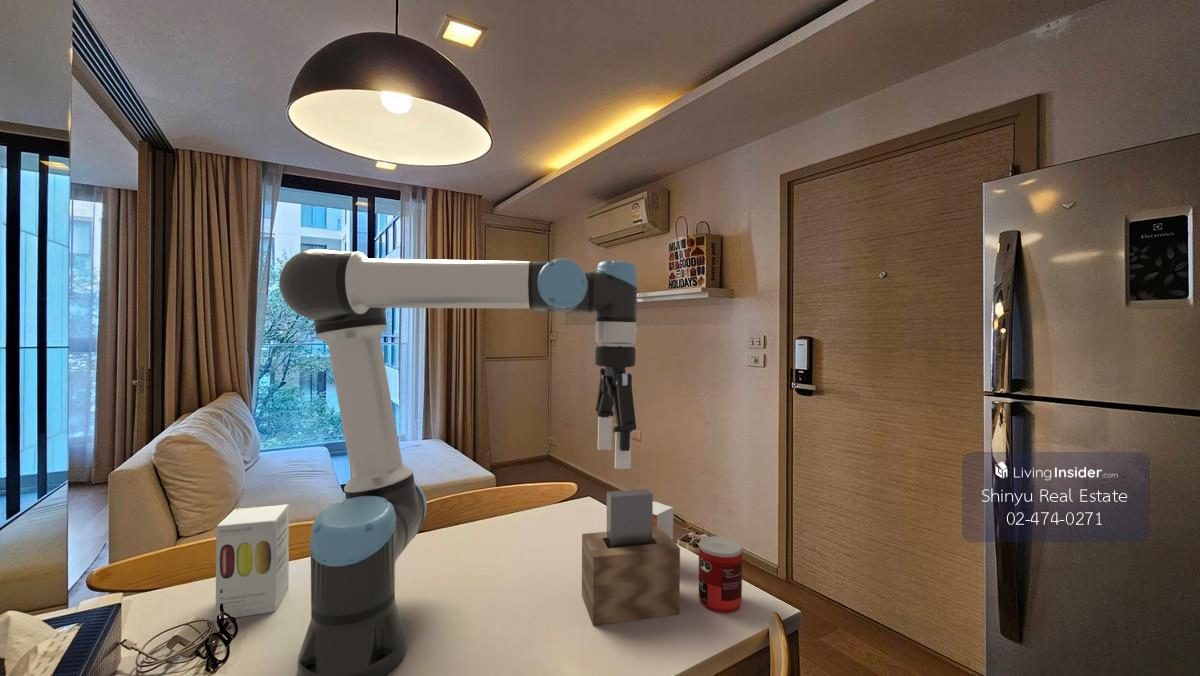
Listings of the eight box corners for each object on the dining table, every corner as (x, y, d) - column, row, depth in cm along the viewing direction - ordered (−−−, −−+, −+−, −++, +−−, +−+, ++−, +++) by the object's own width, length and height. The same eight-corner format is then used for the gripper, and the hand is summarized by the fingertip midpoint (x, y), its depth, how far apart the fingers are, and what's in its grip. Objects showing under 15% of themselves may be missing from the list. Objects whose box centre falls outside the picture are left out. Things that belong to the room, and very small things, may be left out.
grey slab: (610, 573, 90) (610, 497, 89) (606, 565, 93) (606, 491, 92) (652, 568, 92) (652, 493, 91) (646, 561, 94) (647, 488, 94)
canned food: (701, 588, 98) (702, 533, 98) (743, 596, 95) (744, 539, 95) (694, 608, 91) (695, 549, 91) (739, 617, 88) (740, 556, 88)
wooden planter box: (593, 625, 85) (593, 557, 85) (581, 595, 95) (582, 533, 95) (679, 614, 89) (679, 548, 89) (660, 586, 99) (660, 526, 99)
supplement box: (213, 622, 86) (212, 526, 86) (232, 595, 95) (232, 508, 94) (277, 612, 89) (277, 519, 89) (290, 586, 98) (290, 502, 98)
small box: (626, 563, 108) (626, 504, 108) (644, 554, 113) (644, 497, 113) (656, 576, 103) (656, 514, 103) (673, 566, 107) (674, 506, 107)
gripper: (657, 348, 81) (653, 476, 81) (617, 343, 105) (615, 442, 105) (612, 347, 79) (609, 478, 79) (583, 342, 103) (580, 443, 104)
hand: (612, 458), depth 92 cm, fingers open, 13 cm apart
